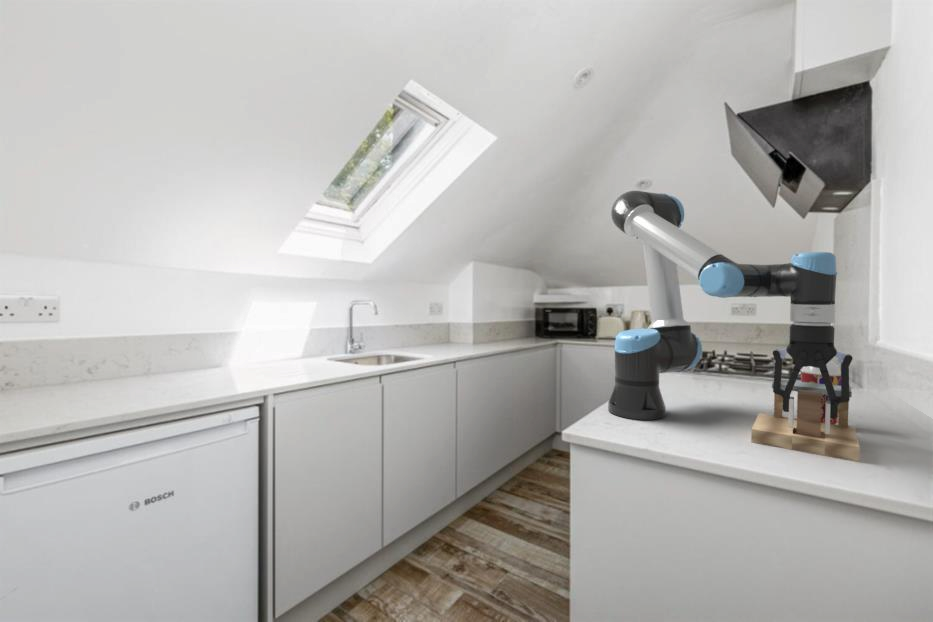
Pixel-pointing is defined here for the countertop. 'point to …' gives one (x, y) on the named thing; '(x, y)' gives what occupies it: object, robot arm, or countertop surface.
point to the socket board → (834, 444)
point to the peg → (809, 413)
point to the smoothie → (815, 376)
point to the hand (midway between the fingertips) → (808, 429)
